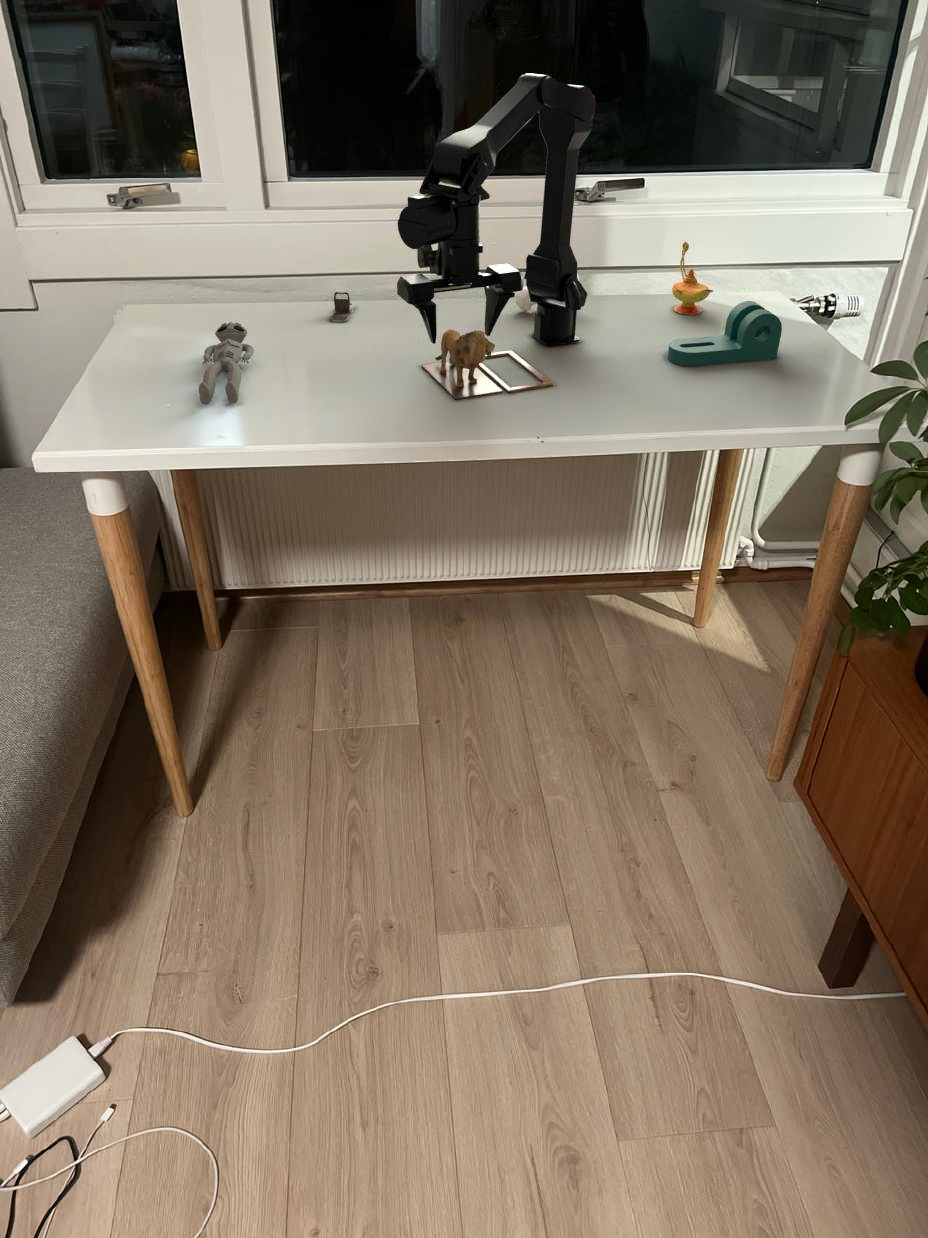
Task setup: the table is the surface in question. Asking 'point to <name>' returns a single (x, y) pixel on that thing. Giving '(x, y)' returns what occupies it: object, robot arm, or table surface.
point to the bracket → (733, 339)
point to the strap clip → (342, 308)
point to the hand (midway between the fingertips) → (460, 338)
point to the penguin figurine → (525, 299)
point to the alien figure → (225, 361)
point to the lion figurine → (464, 352)
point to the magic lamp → (689, 289)
